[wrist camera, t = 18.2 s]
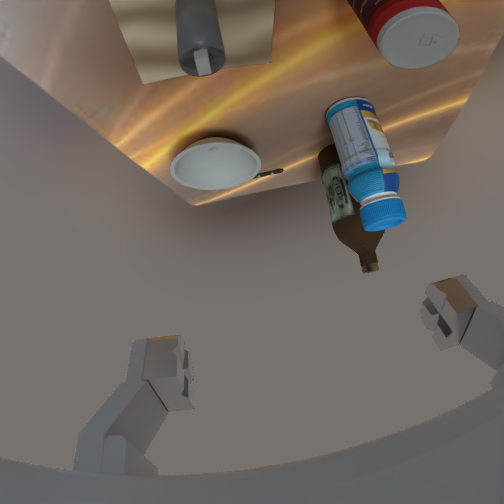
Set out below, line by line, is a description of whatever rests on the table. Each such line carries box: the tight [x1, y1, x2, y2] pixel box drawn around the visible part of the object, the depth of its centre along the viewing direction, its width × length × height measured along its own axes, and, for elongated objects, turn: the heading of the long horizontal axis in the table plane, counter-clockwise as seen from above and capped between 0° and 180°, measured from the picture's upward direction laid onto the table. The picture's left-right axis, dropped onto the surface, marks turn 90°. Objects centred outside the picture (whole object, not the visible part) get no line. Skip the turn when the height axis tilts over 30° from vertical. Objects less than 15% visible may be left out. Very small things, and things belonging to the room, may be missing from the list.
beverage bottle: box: [326, 97, 407, 231], centre depth 46 cm, size 8×8×20 cm
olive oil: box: [318, 144, 385, 273], centre depth 61 cm, size 11×11×25 cm
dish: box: [170, 137, 261, 190], centre depth 52 cm, size 18×14×5 cm
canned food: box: [347, 0, 460, 69], centre depth 21 cm, size 8×8×11 cm
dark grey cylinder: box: [175, 0, 226, 76], centre depth 22 cm, size 4×4×9 cm
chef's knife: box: [252, 169, 284, 179], centre depth 68 cm, size 19×1×3 cm
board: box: [109, 0, 275, 85], centre depth 23 cm, size 20×15×2 cm
